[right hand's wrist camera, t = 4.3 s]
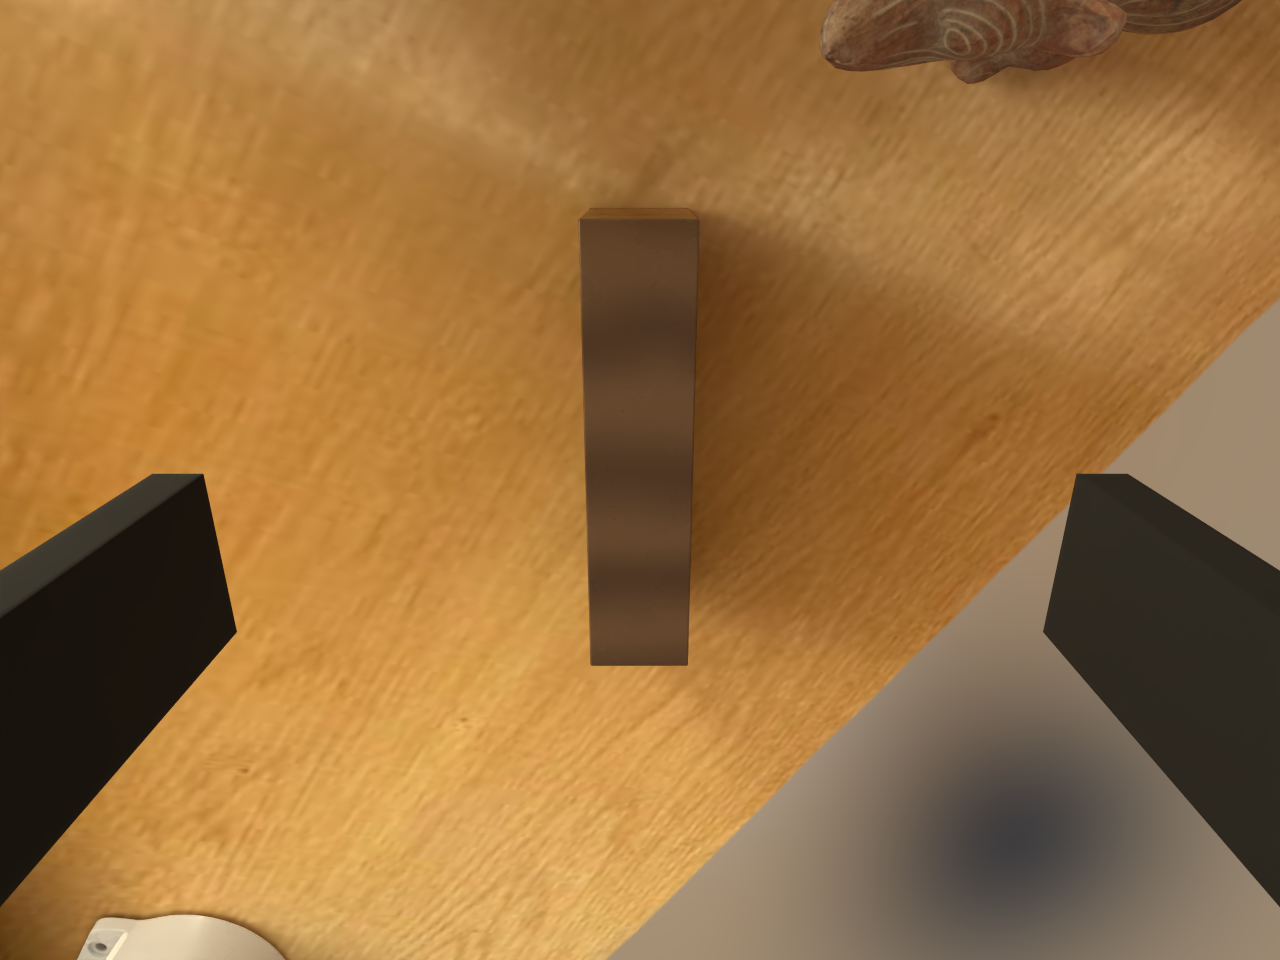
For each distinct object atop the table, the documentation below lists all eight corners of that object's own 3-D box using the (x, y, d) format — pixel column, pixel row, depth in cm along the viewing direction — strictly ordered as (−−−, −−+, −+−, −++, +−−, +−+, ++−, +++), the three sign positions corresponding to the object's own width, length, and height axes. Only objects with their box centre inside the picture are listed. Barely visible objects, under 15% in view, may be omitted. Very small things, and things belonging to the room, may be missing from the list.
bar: (589, 208, 43) (578, 219, 35) (688, 208, 43) (699, 219, 35) (597, 589, 51) (590, 666, 43) (680, 589, 51) (687, 666, 43)
